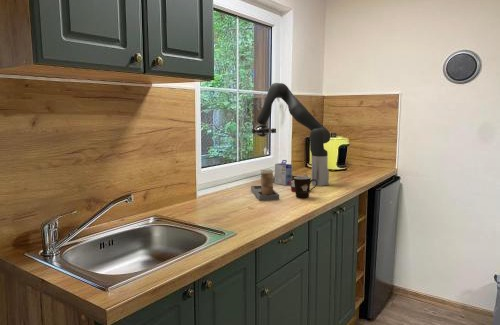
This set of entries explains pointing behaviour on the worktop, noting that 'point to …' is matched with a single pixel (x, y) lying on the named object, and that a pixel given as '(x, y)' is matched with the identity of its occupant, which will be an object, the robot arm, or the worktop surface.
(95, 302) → the worktop surface
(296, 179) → the coffee mug
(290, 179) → the ink cartridge box
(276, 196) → the holder tray
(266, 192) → the walnut peg
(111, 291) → the worktop surface
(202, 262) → the worktop surface
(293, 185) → the canned food
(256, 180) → the worktop surface
